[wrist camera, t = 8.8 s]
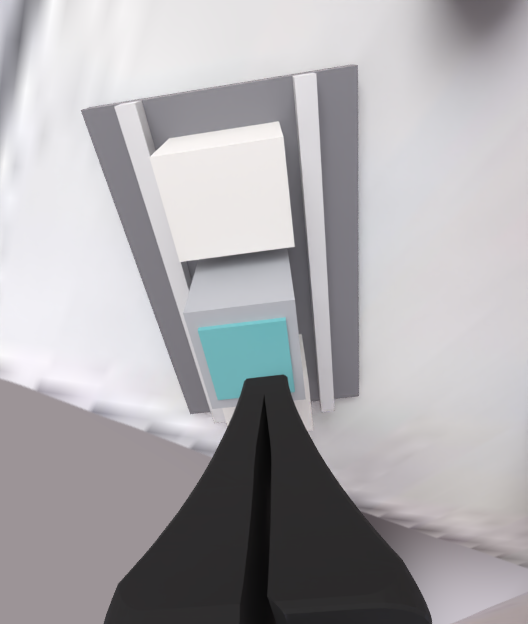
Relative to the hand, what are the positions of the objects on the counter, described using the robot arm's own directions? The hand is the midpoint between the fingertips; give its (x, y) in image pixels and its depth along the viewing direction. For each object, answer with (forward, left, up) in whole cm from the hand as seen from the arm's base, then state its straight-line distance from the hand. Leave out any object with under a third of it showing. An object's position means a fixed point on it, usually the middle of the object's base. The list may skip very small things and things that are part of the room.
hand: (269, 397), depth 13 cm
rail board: (0, +1, -9) cm, 9 cm away
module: (0, +1, -8) cm, 8 cm away
